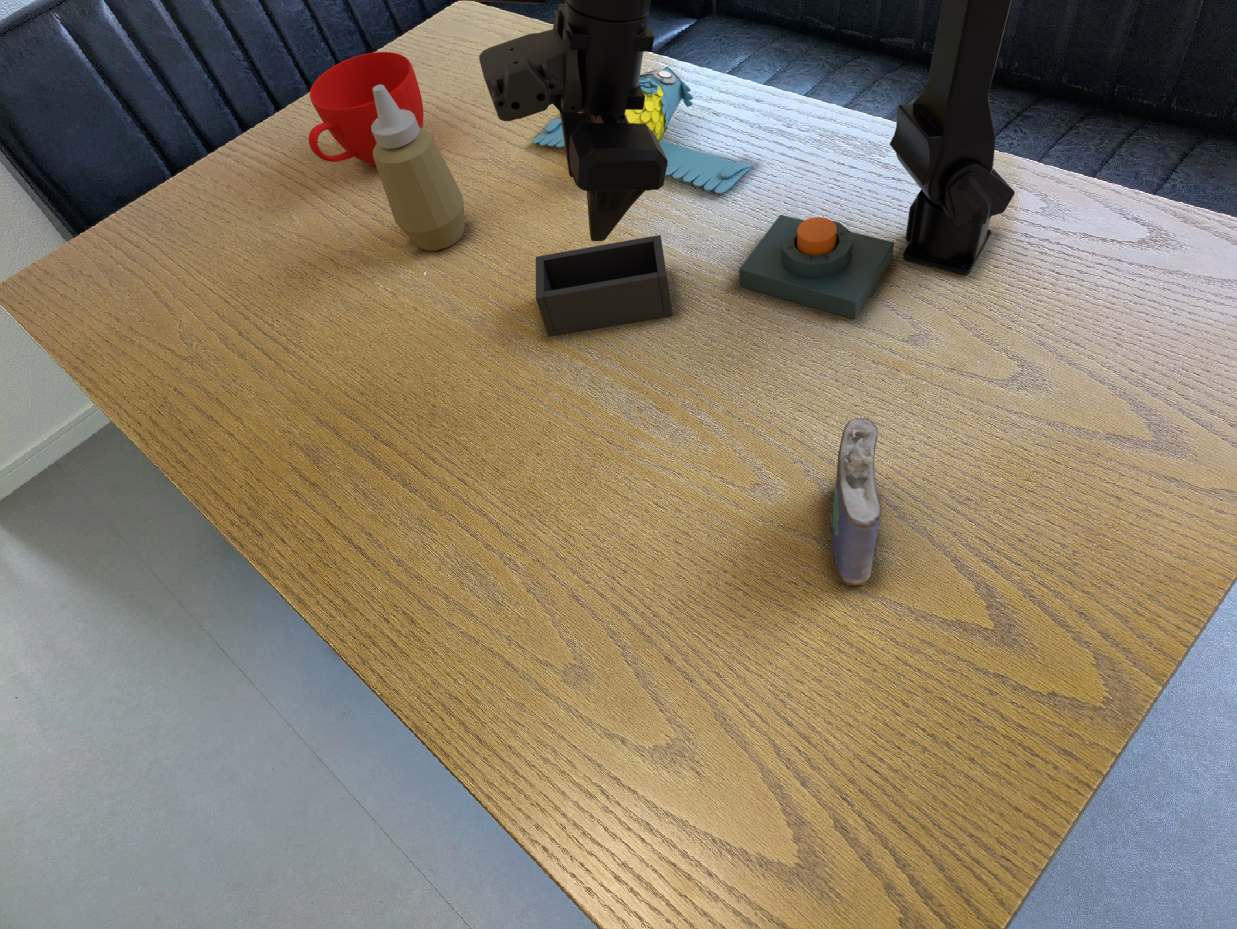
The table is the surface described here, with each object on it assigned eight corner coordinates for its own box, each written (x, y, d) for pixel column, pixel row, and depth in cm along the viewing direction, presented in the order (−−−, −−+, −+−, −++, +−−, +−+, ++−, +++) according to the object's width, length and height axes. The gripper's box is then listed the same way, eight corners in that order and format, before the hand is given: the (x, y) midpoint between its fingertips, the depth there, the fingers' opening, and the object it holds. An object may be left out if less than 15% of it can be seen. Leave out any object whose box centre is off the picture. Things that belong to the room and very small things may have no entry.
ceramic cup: (304, 189, 105) (264, 118, 97) (388, 117, 113) (357, 45, 105) (375, 210, 100) (340, 136, 92) (459, 133, 107) (432, 58, 99)
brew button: (842, 236, 78) (843, 221, 76) (826, 260, 76) (826, 245, 75) (807, 228, 79) (807, 213, 78) (790, 251, 78) (790, 236, 76)
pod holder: (666, 274, 84) (660, 234, 80) (672, 315, 80) (666, 275, 76) (547, 294, 85) (535, 256, 81) (548, 336, 82) (535, 298, 77)
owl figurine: (493, 93, 94) (572, 31, 100) (512, 161, 101) (585, 99, 107) (700, 144, 81) (774, 69, 88) (706, 217, 88) (774, 142, 95)
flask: (872, 588, 60) (885, 509, 52) (830, 586, 61) (837, 507, 52) (868, 485, 65) (879, 397, 57) (830, 484, 66) (836, 397, 57)
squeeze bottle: (394, 254, 94) (323, 108, 80) (428, 210, 98) (366, 63, 84) (453, 262, 91) (390, 113, 77) (485, 217, 95) (432, 67, 81)
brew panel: (892, 259, 80) (896, 226, 77) (854, 319, 76) (857, 287, 73) (780, 231, 85) (780, 199, 82) (739, 286, 81) (737, 254, 78)
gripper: (472, -55, 59) (474, 147, 71) (507, 65, 48) (503, 281, 59) (621, -46, 62) (599, 147, 73) (688, 69, 50) (649, 276, 62)
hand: (585, 206), depth 67 cm, fingers open, 9 cm apart
